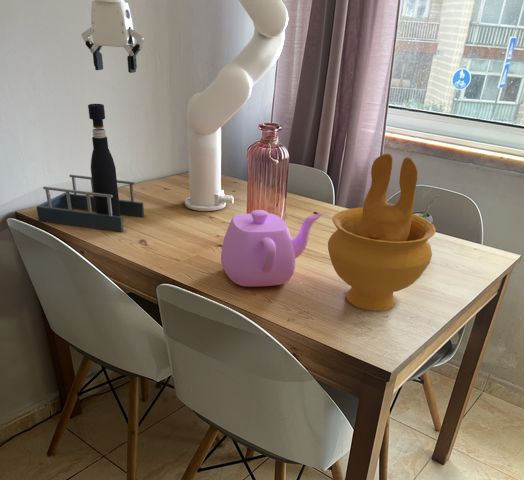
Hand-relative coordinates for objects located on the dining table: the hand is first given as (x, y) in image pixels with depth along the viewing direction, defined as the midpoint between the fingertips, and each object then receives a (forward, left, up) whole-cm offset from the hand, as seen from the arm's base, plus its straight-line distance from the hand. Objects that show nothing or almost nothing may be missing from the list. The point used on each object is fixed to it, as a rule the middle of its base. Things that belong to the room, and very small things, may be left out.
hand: (115, 71), depth 147 cm
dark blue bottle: (-2, +15, -36) cm, 39 cm away
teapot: (-51, +36, -36) cm, 72 cm away
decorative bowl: (-77, +40, -36) cm, 94 cm away
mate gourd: (-86, +2, -36) cm, 93 cm away
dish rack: (+3, +15, -36) cm, 39 cm away
